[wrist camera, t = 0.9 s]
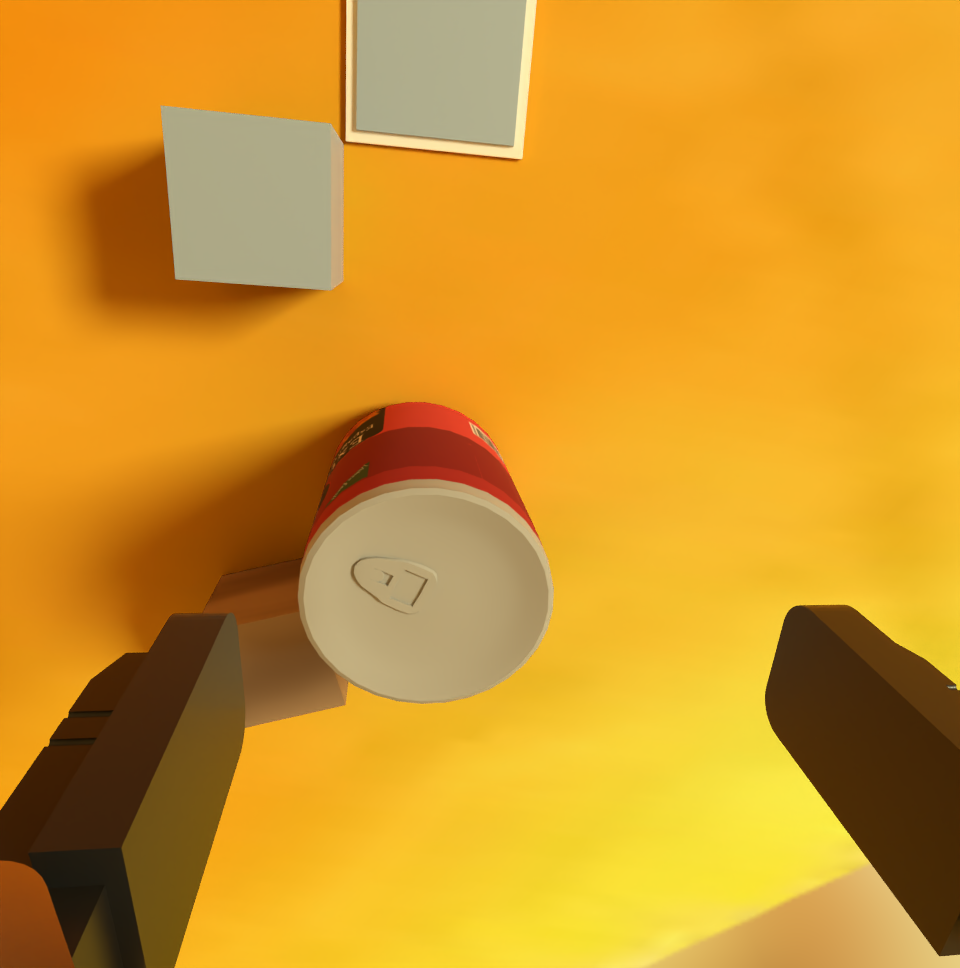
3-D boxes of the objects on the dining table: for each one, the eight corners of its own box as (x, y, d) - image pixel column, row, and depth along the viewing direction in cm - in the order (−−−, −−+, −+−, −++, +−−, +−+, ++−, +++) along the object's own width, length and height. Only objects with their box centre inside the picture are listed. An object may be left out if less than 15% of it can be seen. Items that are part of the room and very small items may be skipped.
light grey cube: (207, 130, 24) (160, 105, 19) (343, 144, 25) (330, 123, 20) (215, 271, 26) (175, 279, 21) (343, 280, 26) (331, 290, 22)
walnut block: (222, 574, 30) (190, 635, 26) (326, 552, 31) (313, 608, 26) (255, 660, 32) (231, 731, 28) (353, 637, 33) (345, 704, 28)
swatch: (347, -80, 22) (346, -85, 22) (540, -51, 23) (542, -56, 23) (346, 141, 25) (345, 140, 24) (521, 159, 25) (522, 158, 25)
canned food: (345, 380, 28) (314, 464, 18) (522, 416, 29) (587, 512, 19) (319, 538, 30) (278, 691, 20) (483, 564, 32) (522, 719, 22)
